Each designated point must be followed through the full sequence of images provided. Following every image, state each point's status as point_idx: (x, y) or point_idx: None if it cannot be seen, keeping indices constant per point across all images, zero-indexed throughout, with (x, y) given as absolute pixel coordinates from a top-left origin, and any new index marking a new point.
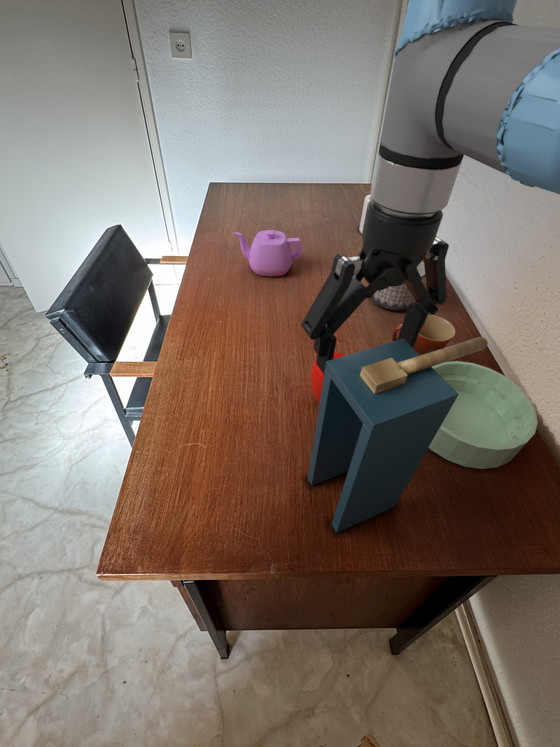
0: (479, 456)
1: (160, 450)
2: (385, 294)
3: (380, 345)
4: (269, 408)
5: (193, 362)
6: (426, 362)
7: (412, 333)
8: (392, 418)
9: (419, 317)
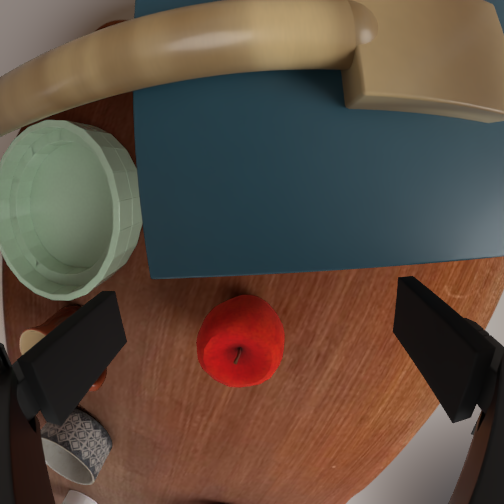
0: (88, 127)
1: (483, 296)
2: (92, 439)
3: (301, 269)
4: (345, 325)
5: (399, 416)
6: (171, 10)
7: (85, 327)
8: None
9: (43, 360)
